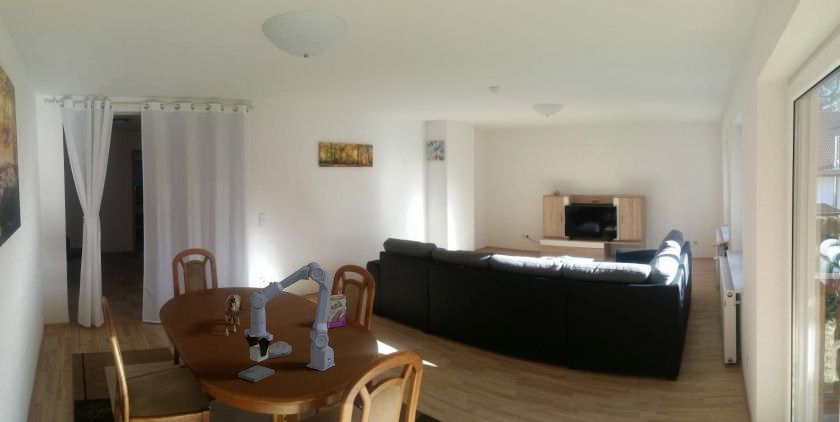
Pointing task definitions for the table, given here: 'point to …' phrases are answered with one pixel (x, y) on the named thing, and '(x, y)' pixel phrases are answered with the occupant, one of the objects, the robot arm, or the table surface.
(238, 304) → the brown animal figure
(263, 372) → the slate tile
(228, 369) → the table surface
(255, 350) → the cube
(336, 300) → the candy bar box
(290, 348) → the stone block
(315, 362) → the robot arm
